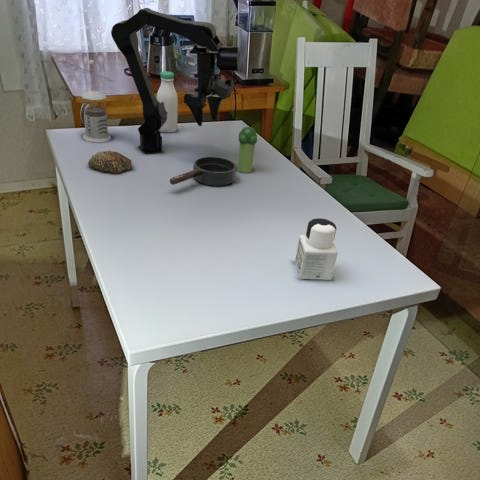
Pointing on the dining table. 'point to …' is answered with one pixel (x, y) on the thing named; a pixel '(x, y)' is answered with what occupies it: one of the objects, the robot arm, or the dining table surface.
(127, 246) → the dining table surface
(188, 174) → the pan handle
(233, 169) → the pan
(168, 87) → the milk bottle
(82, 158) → the dining table surface
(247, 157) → the broccoli
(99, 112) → the french press
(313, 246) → the container
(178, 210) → the dining table surface
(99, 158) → the bread roll
